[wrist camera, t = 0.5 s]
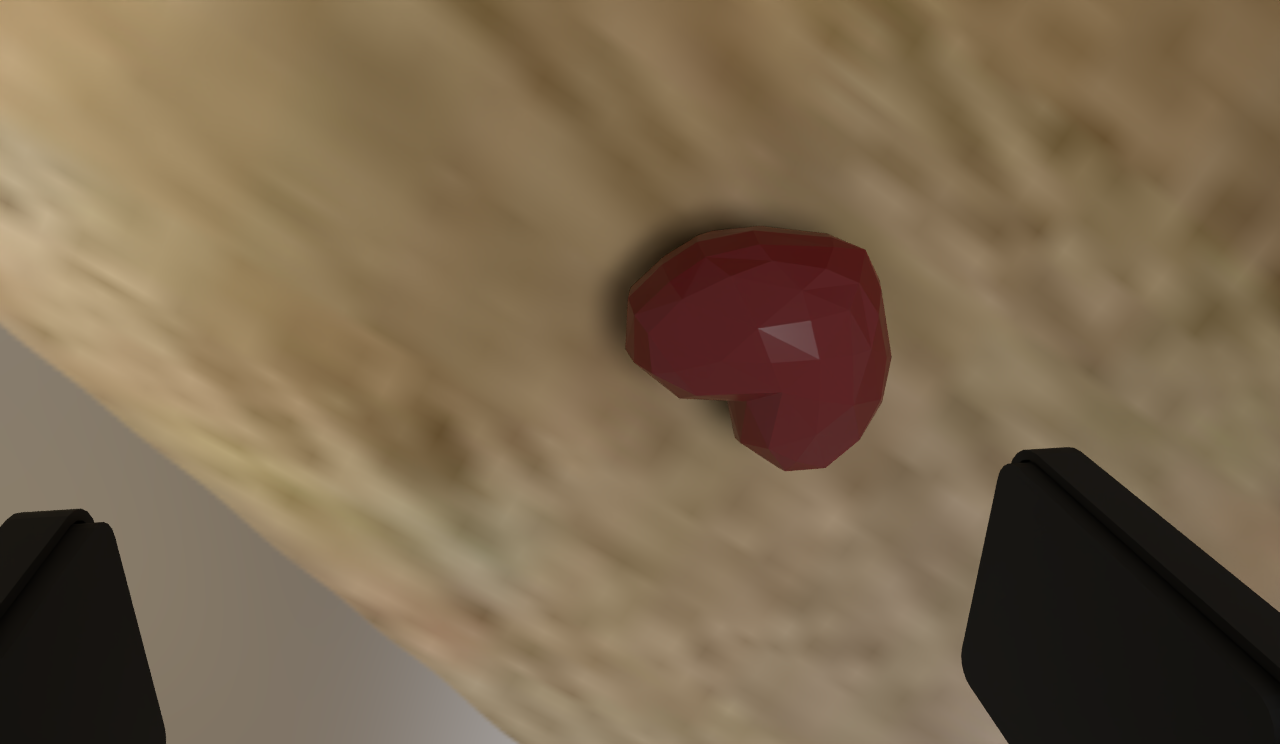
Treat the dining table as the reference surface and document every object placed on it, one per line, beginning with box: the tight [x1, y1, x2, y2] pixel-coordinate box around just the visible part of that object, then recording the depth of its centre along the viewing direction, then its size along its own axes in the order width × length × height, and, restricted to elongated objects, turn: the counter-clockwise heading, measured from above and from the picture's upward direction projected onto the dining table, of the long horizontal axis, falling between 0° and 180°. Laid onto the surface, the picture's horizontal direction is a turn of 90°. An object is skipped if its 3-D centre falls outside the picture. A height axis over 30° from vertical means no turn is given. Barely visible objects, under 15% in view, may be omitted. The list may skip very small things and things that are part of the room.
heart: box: [625, 226, 891, 471], centre depth 38 cm, size 12×8×10 cm
